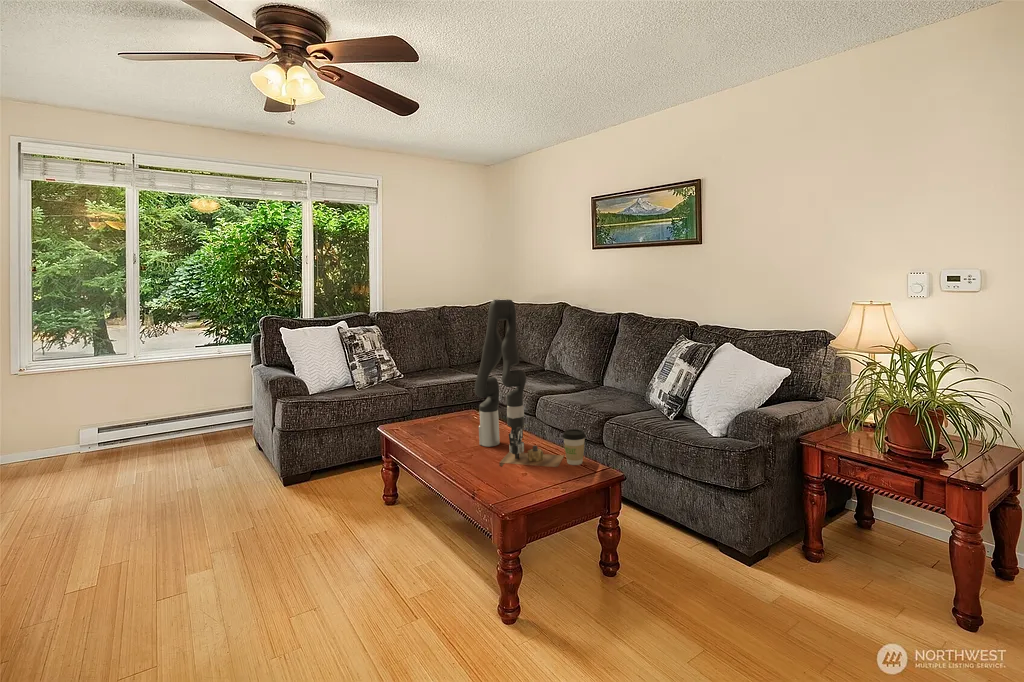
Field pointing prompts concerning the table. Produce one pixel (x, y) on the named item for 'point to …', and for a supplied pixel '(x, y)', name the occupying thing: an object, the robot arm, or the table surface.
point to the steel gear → (518, 447)
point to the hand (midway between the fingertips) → (516, 451)
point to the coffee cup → (574, 446)
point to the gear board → (526, 461)
